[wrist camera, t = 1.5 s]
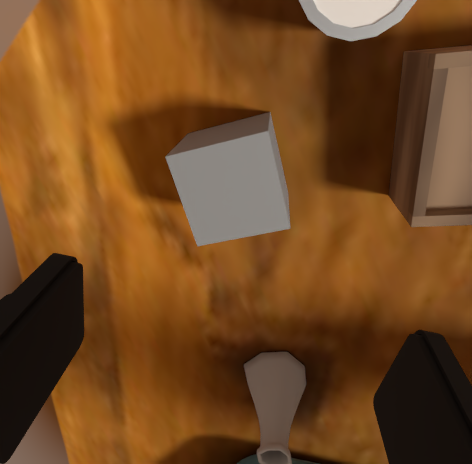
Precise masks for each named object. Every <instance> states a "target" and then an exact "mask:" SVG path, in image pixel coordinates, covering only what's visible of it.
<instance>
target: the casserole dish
mask: <svg viewBox="0 0 472 464" xmlns="http://www.w3.org/2000/svg"><path fill="white" fill-rule="evenodd" d="M291 460H292V464H320V463H315V462H310V461H305V460H300V459H295V458H291ZM237 464H260V463H259V462H258V457H257V454H256V455H251V456H249V457H247V458H244V459H242V460H241V461H239V462H238V463H237Z"/></svg>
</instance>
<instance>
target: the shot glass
mask: <svg viewBox="0 0 472 464" xmlns="http://www.w3.org/2000/svg"><path fill="white" fill-rule="evenodd" d="M416 1H417V0H299V2H300V4H301V6H302V8H303V10H304V12H305V14H306V16H307V18H308V20H309V21H310V22H312V23H313V24H314V25H315V26H316V27H318V28H319V29H320V30H321V31H322V32H324V33H325V34H326V35H327V36H331V37H335V38H339V39H343V40H347V41H355V40H360V39H366V38H371V37H376V36H378V35H379V34H381V33H382V32H384V31H385V30H387V29H389V28H390V27H392V26H393V25H395V24H396V23H398V22H400V21H401V20H402V18H403V17H404V16H405V15H406V13H407V12H408V11H409V10H410V8H411V7H412V6H413V5H414V3H415V2H416Z"/></svg>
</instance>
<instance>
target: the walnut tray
mask: <svg viewBox="0 0 472 464" xmlns="http://www.w3.org/2000/svg"><path fill="white" fill-rule="evenodd" d="M389 197H390V198H391V199H392V201H393V202H394V204H395V205H396V206H397V208H398V209H399V211H400V212H401V213H402V215H403V216H404V218H405V219H406V220H407V222H408V223H409V225H410V226H411V227H425V226H454V225H472V45H466V46H455V47H445V48H434V49H424V50H413V51H404V54H403V64H402V73H401V83H400V92H399V101H398V111H397V120H396V130H395V139H394V148H393V158H392V167H391V177H390V186H389Z"/></svg>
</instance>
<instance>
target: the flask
mask: <svg viewBox="0 0 472 464" xmlns="http://www.w3.org/2000/svg"><path fill="white" fill-rule="evenodd" d="M244 369H245V374H246V379H247V383H248V386H249V390H250V393H251V396H252V399H253V402H254V405H255V408H256V412H257V415H258V419H259V424H260V432H261V443H260V448H258V449H257V457H258V462H259V463H260V464H292V460H291V454H290V450H288V440H289V434H290V428H291V424H292V421H293V418H294V415H295V412H296V410H297V407H298V404H299V402H300V399H301V397H302V394H303V392H304V389H305V386H306V375H305V366H304V365H303V364H302V363H300V362H299V361H298V360H297V359H296V358H294V357H293V356H292V355H291V354H290V353H288V352H265V353H260V354H259V355H257V356H256V357H254V358H253V359H251V360H250V361H248V362H247V363H245V364H244Z"/></svg>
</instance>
